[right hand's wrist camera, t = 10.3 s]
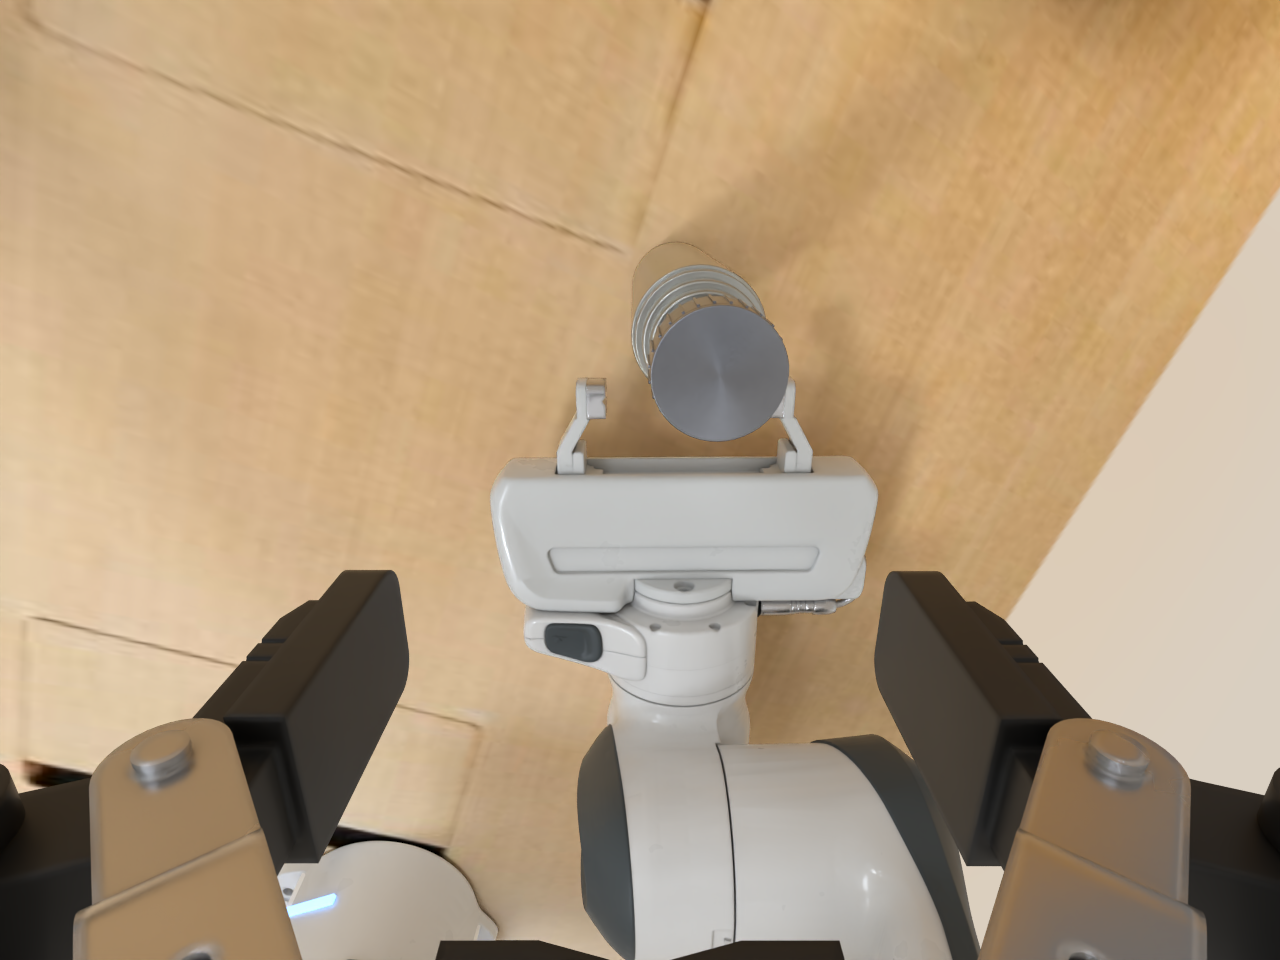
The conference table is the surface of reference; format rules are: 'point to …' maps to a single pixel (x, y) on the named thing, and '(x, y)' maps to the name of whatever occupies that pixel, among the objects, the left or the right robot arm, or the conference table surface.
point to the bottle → (677, 289)
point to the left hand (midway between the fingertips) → (684, 379)
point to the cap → (717, 368)
